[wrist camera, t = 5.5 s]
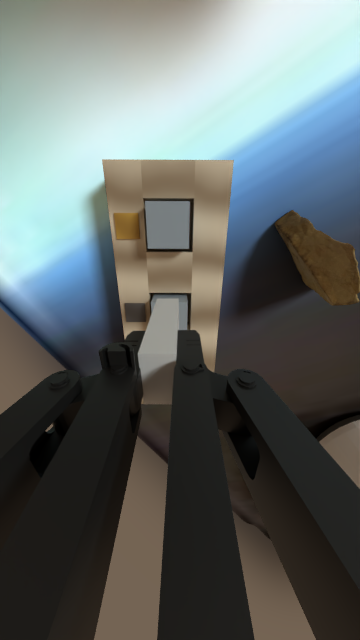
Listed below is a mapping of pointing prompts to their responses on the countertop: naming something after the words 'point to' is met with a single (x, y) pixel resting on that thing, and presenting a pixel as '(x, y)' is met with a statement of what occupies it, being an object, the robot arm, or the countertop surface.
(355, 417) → the pot
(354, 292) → the rock
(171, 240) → the button
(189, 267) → the button panel
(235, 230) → the countertop surface
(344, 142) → the countertop surface
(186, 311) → the middle button
